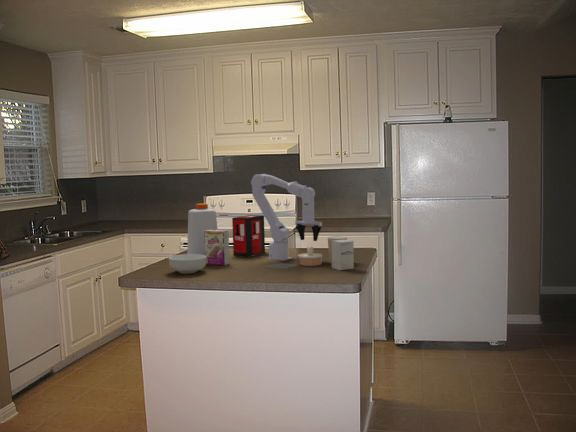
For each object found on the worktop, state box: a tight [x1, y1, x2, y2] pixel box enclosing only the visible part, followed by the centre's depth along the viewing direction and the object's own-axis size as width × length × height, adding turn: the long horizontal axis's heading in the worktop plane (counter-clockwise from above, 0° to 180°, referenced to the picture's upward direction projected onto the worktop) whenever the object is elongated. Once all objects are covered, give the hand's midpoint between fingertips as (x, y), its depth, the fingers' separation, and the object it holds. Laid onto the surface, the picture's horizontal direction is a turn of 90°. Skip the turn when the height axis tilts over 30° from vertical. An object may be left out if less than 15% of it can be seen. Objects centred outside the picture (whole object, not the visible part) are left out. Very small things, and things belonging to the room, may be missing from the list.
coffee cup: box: [326, 235, 348, 264], centre depth 272 cm, size 9×9×12 cm
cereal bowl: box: [168, 253, 207, 275], centre depth 258 cm, size 17×17×7 cm
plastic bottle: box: [186, 203, 219, 255], centre depth 292 cm, size 15×15×28 cm
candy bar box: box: [204, 229, 230, 266], centre depth 275 cm, size 11×5×16 cm, turn 65°
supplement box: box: [331, 239, 355, 271], centre depth 257 cm, size 7×7×13 cm
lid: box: [297, 246, 324, 259], centre depth 268 cm, size 12×12×4 cm
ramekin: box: [299, 256, 323, 267], centre depth 269 cm, size 10×10×4 cm
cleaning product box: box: [231, 214, 266, 258], centre depth 303 cm, size 16×9×20 cm, turn 150°
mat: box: [263, 262, 299, 270], centre depth 265 cm, size 12×12×1 cm
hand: (308, 240), depth 279 cm, fingers open, 7 cm apart
